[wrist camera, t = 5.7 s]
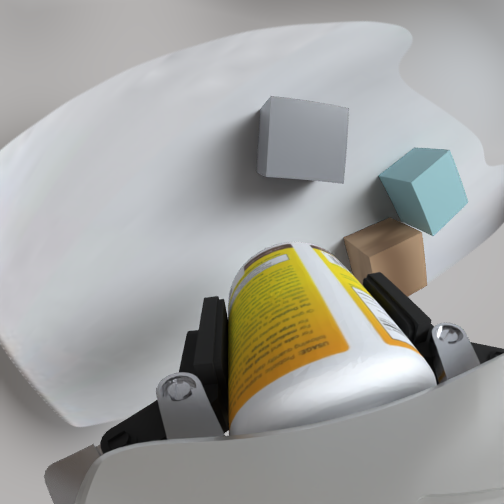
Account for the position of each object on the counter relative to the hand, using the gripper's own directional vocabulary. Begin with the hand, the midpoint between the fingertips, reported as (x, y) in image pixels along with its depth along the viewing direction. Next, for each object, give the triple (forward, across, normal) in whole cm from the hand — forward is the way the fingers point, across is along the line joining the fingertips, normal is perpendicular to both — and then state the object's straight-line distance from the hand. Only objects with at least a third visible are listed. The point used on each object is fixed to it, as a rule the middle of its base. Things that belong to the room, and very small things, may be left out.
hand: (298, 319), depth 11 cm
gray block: (+13, -3, -7) cm, 15 cm away
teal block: (+13, -14, -3) cm, 19 cm away
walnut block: (+13, -10, +3) cm, 16 cm away
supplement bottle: (+2, 0, 0) cm, 2 cm away
